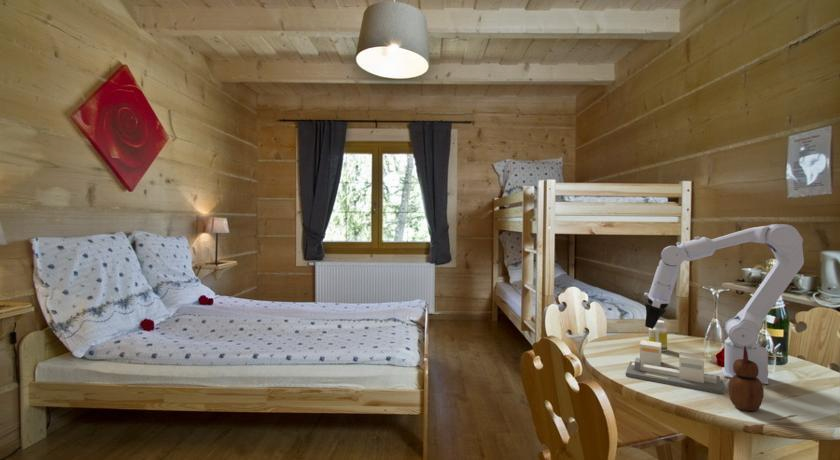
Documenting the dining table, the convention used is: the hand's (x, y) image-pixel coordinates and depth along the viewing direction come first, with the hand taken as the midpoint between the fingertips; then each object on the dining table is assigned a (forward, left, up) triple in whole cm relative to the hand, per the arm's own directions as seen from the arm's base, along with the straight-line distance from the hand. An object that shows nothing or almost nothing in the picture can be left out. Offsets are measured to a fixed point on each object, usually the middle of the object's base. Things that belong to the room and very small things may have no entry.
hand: (650, 324), depth 124 cm
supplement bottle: (-1, -16, -12) cm, 20 cm away
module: (0, 0, -12) cm, 12 cm away
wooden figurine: (-21, +23, -12) cm, 34 cm away
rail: (-6, +11, -12) cm, 17 cm away
